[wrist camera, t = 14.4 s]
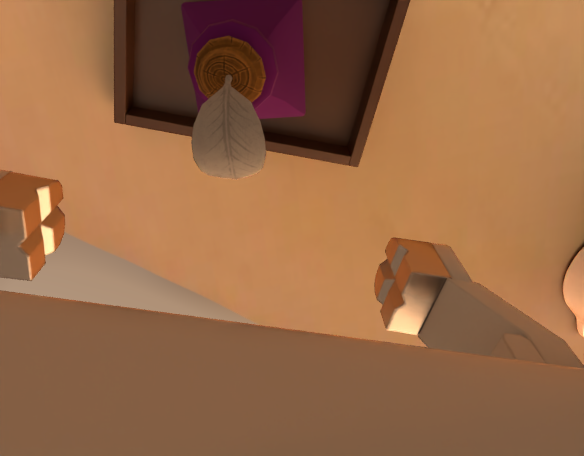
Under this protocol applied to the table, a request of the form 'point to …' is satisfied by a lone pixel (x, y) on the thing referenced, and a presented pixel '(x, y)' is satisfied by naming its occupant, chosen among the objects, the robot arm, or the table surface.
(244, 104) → the perfume bottle
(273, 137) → the tray
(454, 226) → the table surface
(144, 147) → the table surface
